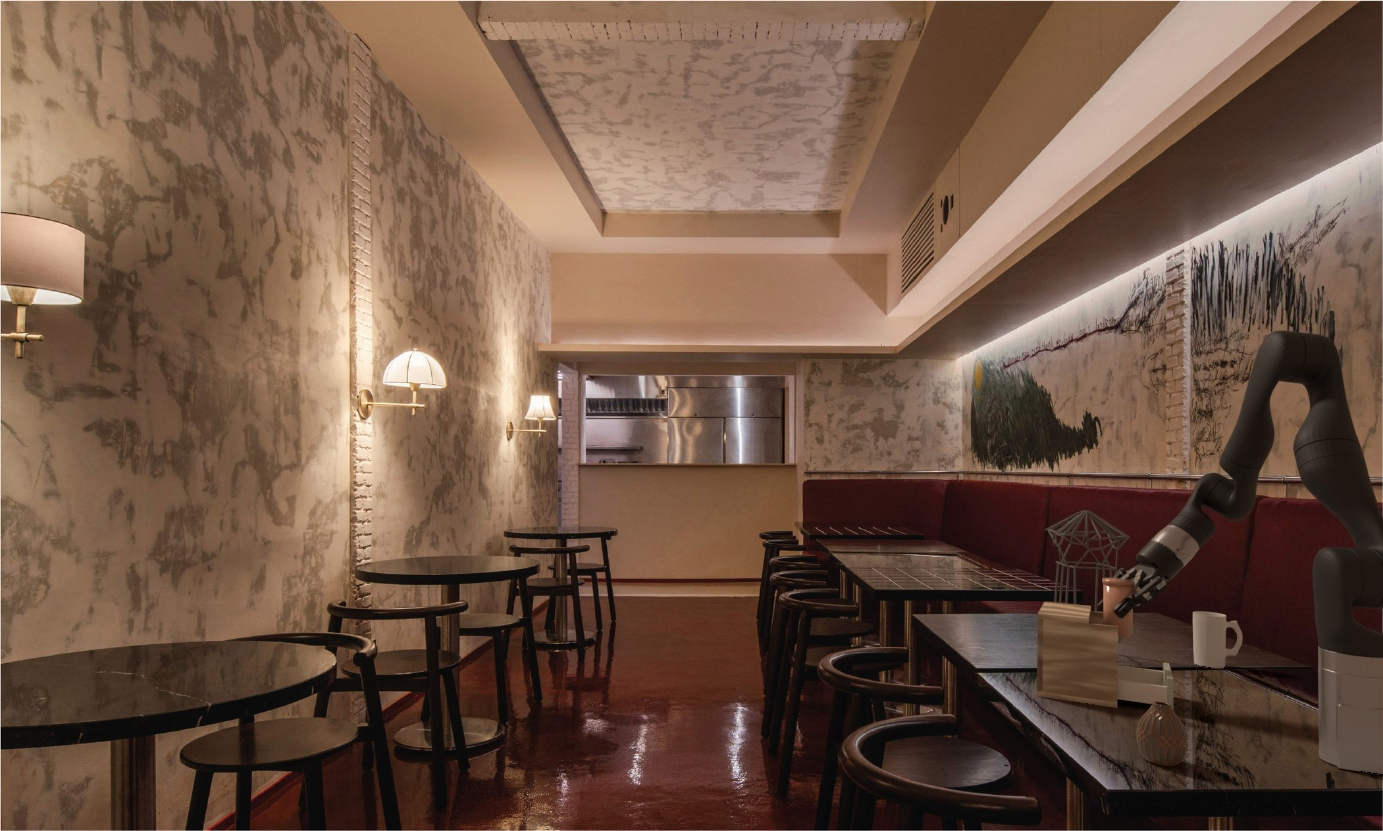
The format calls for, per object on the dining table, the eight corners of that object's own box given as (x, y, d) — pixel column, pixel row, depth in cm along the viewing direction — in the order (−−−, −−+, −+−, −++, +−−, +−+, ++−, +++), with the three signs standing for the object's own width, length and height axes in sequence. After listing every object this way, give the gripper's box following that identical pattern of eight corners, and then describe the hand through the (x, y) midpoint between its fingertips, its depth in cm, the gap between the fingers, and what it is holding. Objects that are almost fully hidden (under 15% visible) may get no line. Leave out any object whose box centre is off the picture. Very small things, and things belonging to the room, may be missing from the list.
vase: (1170, 754, 132) (1170, 697, 132) (1198, 770, 125) (1198, 710, 125) (1126, 753, 132) (1127, 696, 132) (1152, 769, 125) (1152, 709, 125)
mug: (1195, 666, 196) (1195, 614, 197) (1190, 660, 202) (1190, 610, 203) (1246, 672, 192) (1245, 619, 193) (1239, 666, 198) (1239, 614, 199)
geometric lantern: (1105, 650, 211) (1106, 510, 213) (1132, 665, 195) (1133, 513, 197) (1040, 647, 212) (1042, 507, 214) (1061, 661, 197) (1063, 510, 199)
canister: (1134, 639, 163) (1134, 582, 163) (1101, 635, 165) (1102, 580, 166) (1133, 634, 168) (1133, 579, 168) (1102, 630, 170) (1102, 576, 171)
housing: (1117, 708, 158) (1117, 621, 159) (1036, 696, 164) (1037, 613, 165) (1117, 687, 174) (1117, 608, 175) (1043, 677, 180) (1044, 601, 181)
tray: (1173, 712, 155) (1173, 678, 155) (1092, 700, 161) (1092, 668, 161) (1168, 693, 168) (1168, 663, 169) (1094, 683, 174) (1094, 654, 175)
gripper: (1133, 536, 175) (1077, 592, 174) (1177, 542, 161) (1116, 604, 159) (1158, 562, 175) (1101, 619, 174) (1204, 571, 161) (1143, 633, 159)
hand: (1109, 612), depth 167 cm, fingers closed on canister, 5 cm apart
